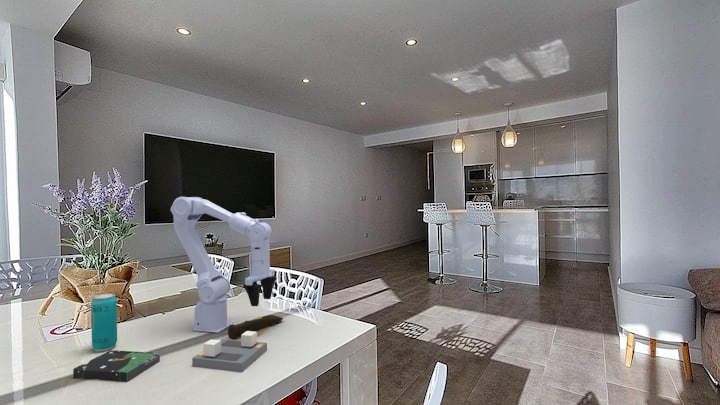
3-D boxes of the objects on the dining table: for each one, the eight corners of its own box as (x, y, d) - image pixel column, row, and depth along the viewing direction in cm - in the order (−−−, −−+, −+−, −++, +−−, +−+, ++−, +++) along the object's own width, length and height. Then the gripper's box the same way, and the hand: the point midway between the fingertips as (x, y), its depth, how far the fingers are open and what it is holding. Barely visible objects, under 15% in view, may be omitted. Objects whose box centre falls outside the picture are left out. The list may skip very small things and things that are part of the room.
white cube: (203, 355, 84) (203, 343, 84) (211, 350, 87) (211, 339, 87) (214, 356, 83) (214, 344, 83) (221, 351, 86) (221, 340, 86)
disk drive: (71, 381, 79) (128, 384, 77) (71, 369, 79) (128, 371, 77) (110, 360, 89) (161, 362, 87) (110, 349, 89) (160, 351, 87)
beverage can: (95, 346, 96) (94, 294, 96) (119, 342, 98) (118, 292, 98) (88, 354, 91) (87, 299, 91) (114, 350, 93) (113, 297, 93)
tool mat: (217, 346, 97) (217, 343, 97) (259, 319, 119) (259, 316, 119) (244, 349, 95) (244, 345, 95) (282, 320, 117) (282, 318, 117)
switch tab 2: (241, 346, 90) (241, 334, 90) (247, 341, 92) (247, 330, 92) (251, 347, 89) (251, 335, 89) (256, 342, 92) (256, 331, 92)
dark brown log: (234, 327, 98) (225, 323, 101) (234, 340, 98) (225, 336, 101) (284, 310, 113) (275, 307, 116) (284, 322, 114) (275, 319, 116)
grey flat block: (192, 365, 84) (192, 357, 84) (222, 345, 95) (222, 338, 95) (241, 371, 80) (241, 363, 80) (267, 350, 92) (266, 342, 92)
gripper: (259, 264, 100) (260, 310, 100) (282, 256, 114) (282, 296, 114) (238, 264, 101) (239, 308, 101) (263, 256, 115) (264, 295, 116)
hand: (261, 302), depth 108 cm, fingers open, 7 cm apart
